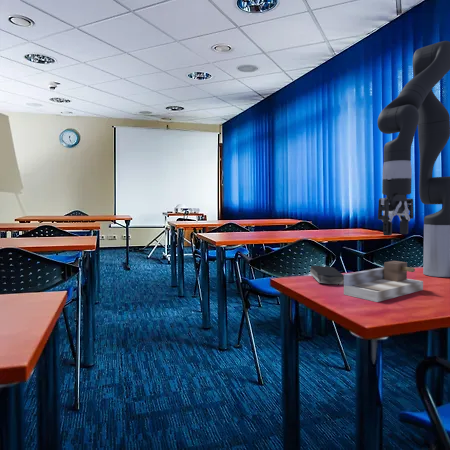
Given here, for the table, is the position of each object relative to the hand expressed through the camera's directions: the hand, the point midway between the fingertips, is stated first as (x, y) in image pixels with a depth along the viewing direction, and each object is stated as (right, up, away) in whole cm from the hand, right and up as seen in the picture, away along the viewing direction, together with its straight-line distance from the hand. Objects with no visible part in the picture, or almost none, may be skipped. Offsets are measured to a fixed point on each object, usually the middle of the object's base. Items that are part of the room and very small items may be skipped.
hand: (395, 234), depth 105 cm
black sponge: (-16, -16, +14) cm, 26 cm away
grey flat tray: (-5, -16, -4) cm, 17 cm away
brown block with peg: (+1, -13, -1) cm, 13 cm away
